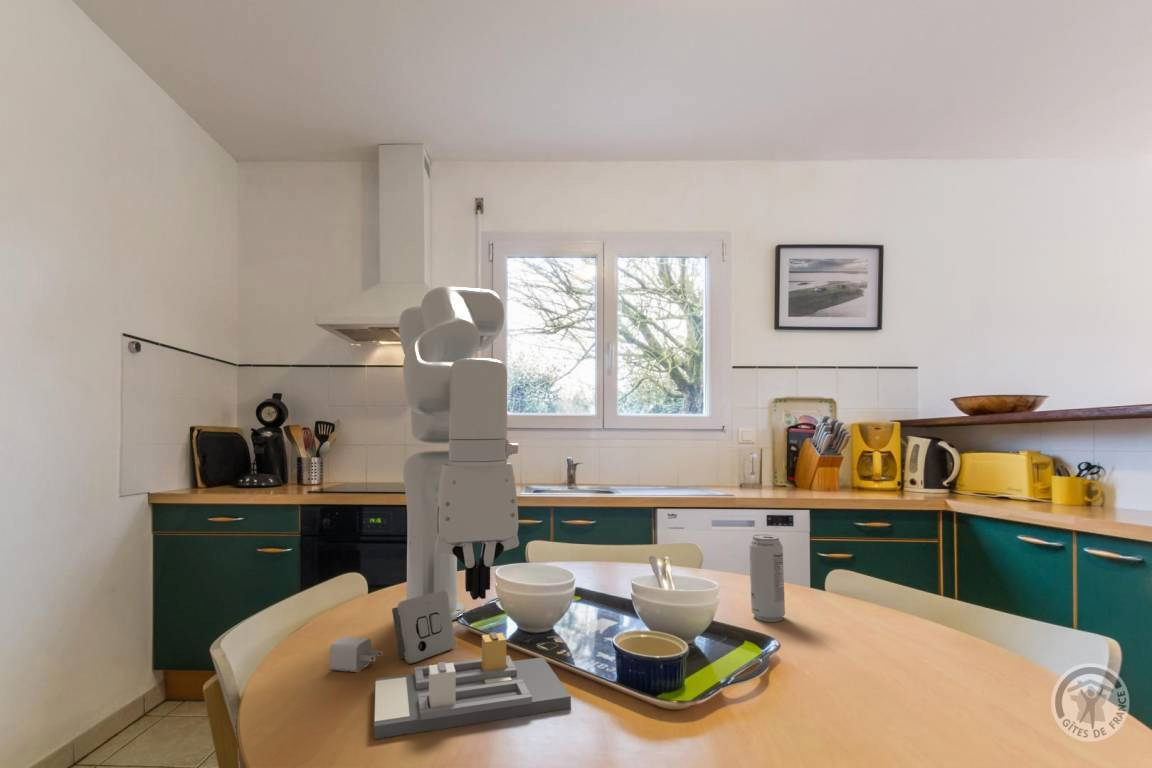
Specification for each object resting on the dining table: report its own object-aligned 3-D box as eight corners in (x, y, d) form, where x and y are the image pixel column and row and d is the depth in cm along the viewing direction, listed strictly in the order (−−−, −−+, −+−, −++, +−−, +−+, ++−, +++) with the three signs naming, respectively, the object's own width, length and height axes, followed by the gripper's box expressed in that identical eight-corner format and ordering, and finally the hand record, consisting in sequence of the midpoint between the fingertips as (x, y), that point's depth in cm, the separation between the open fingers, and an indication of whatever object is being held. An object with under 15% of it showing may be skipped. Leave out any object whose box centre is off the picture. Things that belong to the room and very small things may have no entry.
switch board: (375, 689, 84) (375, 672, 84) (542, 666, 91) (542, 651, 91) (374, 740, 70) (374, 720, 70) (571, 709, 77) (571, 690, 77)
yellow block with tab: (481, 667, 87) (481, 633, 87) (502, 664, 88) (502, 630, 88) (485, 675, 84) (485, 639, 85) (506, 672, 85) (506, 637, 85)
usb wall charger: (345, 661, 94) (345, 635, 94) (385, 664, 93) (386, 638, 93) (329, 671, 90) (330, 644, 90) (371, 675, 89) (372, 647, 89)
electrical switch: (409, 666, 92) (406, 603, 93) (389, 662, 95) (387, 601, 96) (457, 648, 99) (454, 590, 100) (437, 645, 102) (434, 588, 104)
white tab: (428, 702, 76) (428, 663, 76) (452, 698, 77) (452, 660, 77) (430, 712, 73) (430, 672, 74) (455, 709, 74) (455, 668, 74)
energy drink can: (757, 610, 117) (755, 532, 119) (789, 616, 114) (786, 535, 115) (747, 619, 113) (744, 537, 114) (779, 624, 109) (776, 540, 110)
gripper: (527, 450, 85) (527, 583, 83) (417, 453, 80) (416, 593, 79) (540, 453, 77) (541, 599, 76) (420, 456, 73) (419, 611, 72)
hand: (477, 596), depth 78 cm, fingers closed
